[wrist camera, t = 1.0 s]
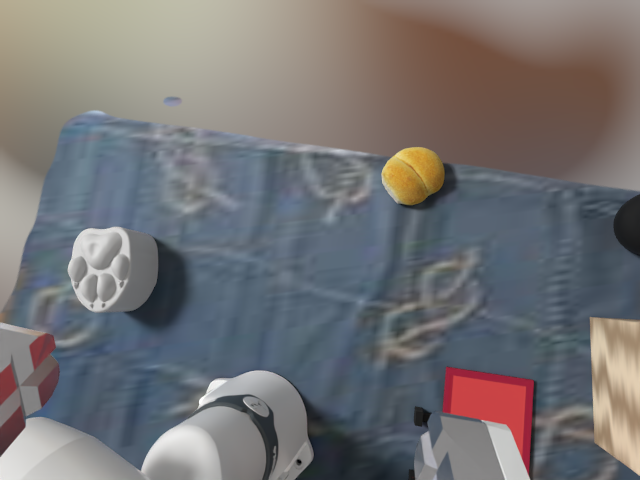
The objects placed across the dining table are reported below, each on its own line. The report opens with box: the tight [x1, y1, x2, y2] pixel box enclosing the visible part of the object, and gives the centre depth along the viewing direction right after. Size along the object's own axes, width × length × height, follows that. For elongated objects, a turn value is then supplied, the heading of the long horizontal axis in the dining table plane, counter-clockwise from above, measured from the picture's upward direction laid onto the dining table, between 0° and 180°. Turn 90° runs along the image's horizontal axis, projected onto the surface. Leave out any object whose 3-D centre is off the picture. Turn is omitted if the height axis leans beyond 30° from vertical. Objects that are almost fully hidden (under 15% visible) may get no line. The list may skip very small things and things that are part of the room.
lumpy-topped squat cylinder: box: [68, 227, 158, 313], centre depth 64 cm, size 10×13×9 cm
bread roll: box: [382, 147, 445, 205], centre depth 60 cm, size 8×9×4 cm
